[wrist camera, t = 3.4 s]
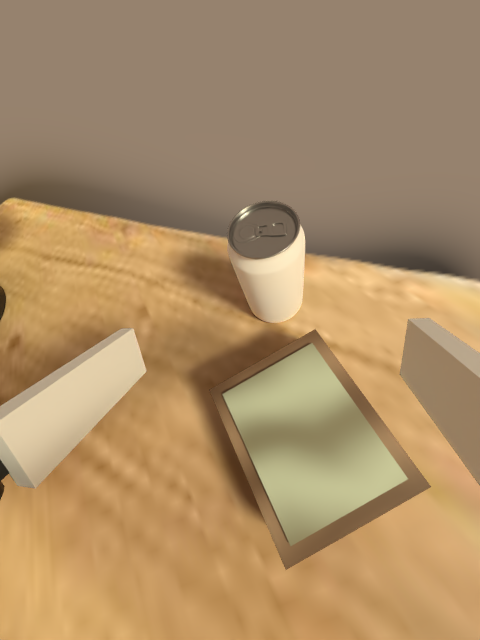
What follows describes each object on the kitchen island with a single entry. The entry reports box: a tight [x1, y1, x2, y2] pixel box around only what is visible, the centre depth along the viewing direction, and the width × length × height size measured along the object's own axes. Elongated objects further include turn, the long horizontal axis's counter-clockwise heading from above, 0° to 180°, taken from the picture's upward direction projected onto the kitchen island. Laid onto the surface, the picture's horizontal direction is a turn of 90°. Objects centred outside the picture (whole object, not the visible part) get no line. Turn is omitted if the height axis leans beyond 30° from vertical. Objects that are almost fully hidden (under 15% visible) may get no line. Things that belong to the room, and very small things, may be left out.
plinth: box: [209, 330, 431, 570], centre depth 20 cm, size 13×11×5 cm
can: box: [227, 201, 305, 323], centre depth 23 cm, size 6×6×12 cm
